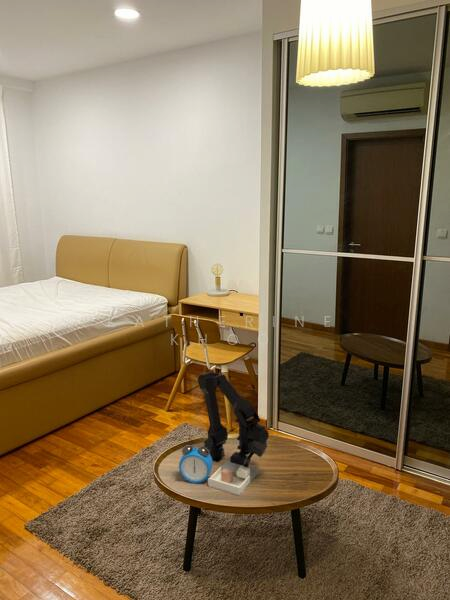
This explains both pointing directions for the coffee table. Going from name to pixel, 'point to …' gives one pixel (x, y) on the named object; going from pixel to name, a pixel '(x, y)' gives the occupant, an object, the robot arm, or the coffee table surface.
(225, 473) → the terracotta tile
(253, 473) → the slate plate
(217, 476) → the tray
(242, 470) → the cream block
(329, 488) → the coffee table surface
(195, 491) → the coffee table surface
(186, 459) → the alarm clock
